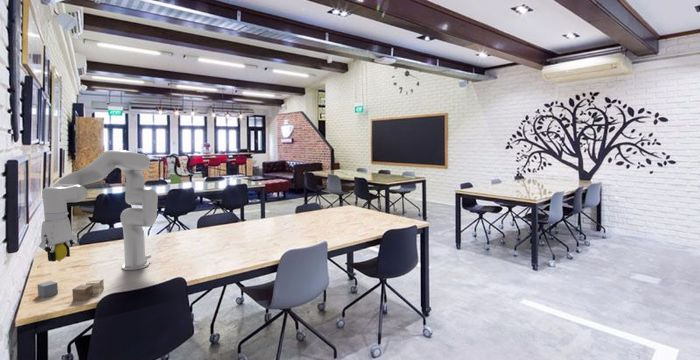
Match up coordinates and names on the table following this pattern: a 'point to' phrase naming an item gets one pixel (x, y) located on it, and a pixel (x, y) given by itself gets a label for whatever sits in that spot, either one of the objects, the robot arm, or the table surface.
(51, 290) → the blue-grey cube
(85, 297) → the walnut cube
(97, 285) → the maple cube
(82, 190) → the robot arm
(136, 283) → the table surface
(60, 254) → the lemon
